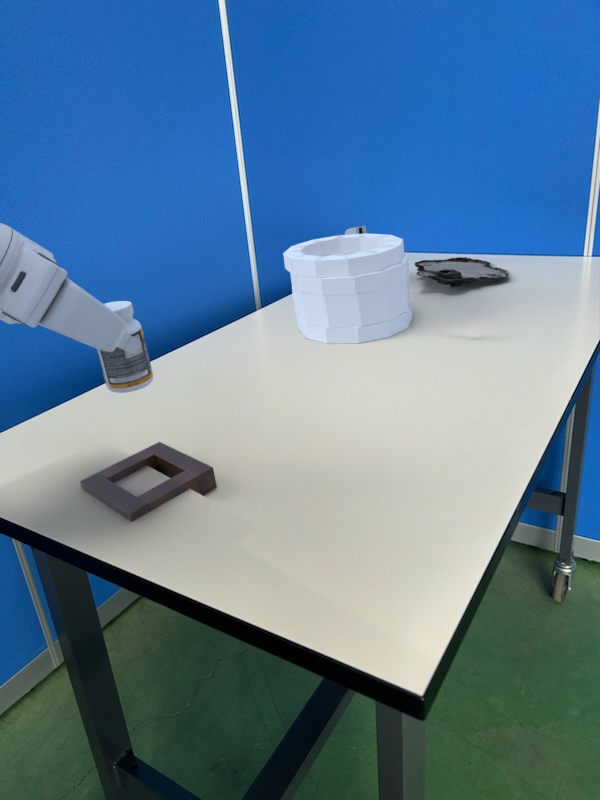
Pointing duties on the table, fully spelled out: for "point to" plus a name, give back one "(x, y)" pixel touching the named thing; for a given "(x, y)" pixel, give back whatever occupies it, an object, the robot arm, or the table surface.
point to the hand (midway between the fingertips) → (125, 341)
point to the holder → (167, 462)
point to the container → (350, 287)
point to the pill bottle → (126, 356)
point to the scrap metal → (459, 270)
